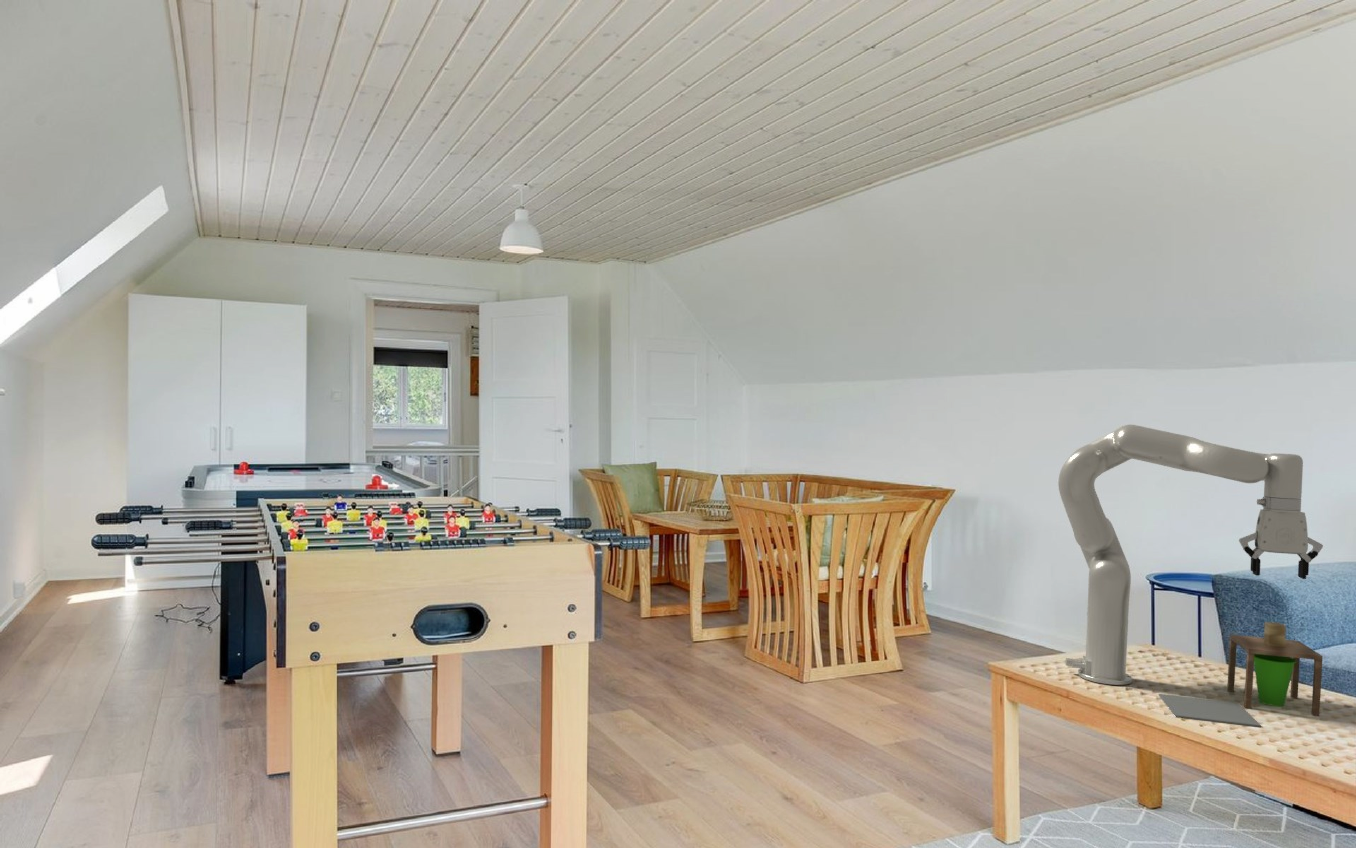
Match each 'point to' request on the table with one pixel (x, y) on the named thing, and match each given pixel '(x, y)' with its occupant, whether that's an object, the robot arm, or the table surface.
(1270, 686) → the cup
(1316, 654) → the cover
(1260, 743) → the table surface
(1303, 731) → the table surface
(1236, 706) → the mat
